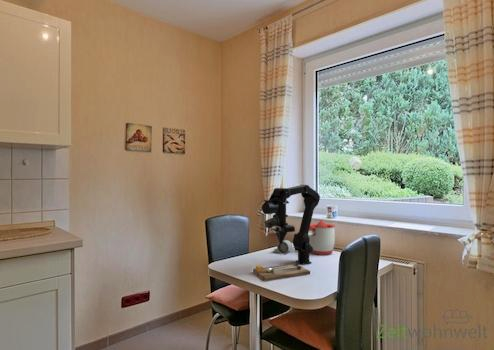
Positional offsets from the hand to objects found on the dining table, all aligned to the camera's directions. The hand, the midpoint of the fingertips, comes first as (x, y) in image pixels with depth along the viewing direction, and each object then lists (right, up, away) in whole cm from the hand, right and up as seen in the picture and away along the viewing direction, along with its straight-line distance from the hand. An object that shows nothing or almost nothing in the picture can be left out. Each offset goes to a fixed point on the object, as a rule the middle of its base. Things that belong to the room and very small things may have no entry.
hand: (280, 243), depth 157 cm
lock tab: (-11, -12, -7) cm, 17 cm away
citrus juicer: (+28, -13, +31) cm, 44 cm away
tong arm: (0, -11, -7) cm, 13 cm away
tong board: (0, -13, -7) cm, 15 cm away
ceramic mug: (+5, -13, +33) cm, 36 cm away
